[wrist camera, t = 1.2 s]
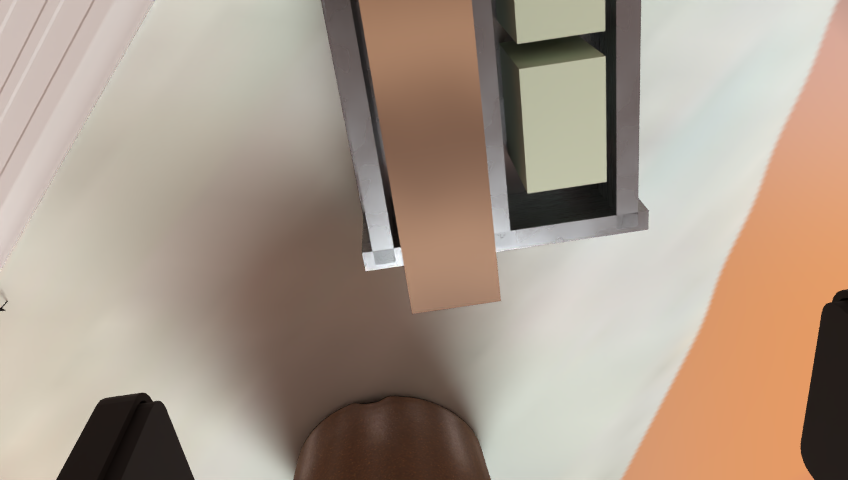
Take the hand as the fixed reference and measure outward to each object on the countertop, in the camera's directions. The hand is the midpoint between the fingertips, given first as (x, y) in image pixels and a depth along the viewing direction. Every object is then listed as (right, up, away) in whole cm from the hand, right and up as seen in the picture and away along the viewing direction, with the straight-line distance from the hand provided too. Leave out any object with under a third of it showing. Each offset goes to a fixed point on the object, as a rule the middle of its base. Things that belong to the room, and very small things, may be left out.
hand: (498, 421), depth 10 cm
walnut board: (-2, +12, +22) cm, 25 cm away
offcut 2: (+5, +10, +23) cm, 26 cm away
